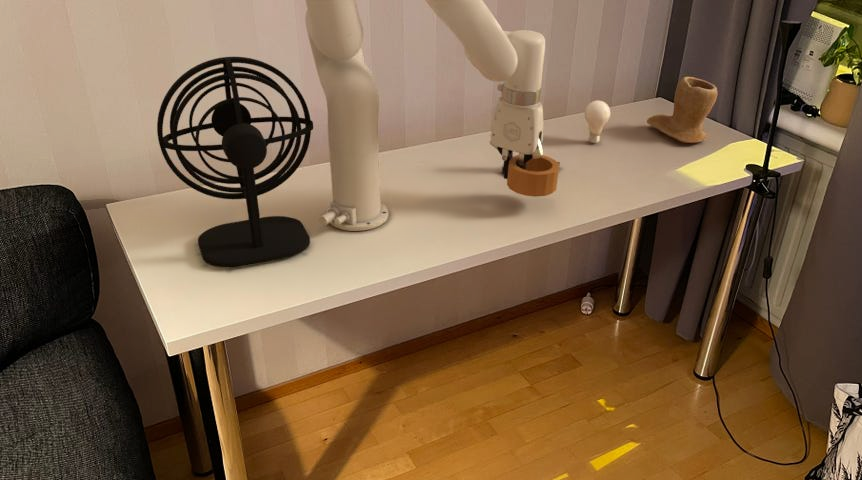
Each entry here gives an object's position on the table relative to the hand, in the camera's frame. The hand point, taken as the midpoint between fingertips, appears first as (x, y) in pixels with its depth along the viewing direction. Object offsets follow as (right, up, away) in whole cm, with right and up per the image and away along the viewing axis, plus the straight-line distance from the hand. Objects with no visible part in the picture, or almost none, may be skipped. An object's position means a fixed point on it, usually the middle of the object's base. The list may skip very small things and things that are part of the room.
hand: (513, 177), depth 167 cm
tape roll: (+4, -2, -1) cm, 4 cm away
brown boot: (+45, +15, +38) cm, 61 cm away
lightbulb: (+22, +12, +31) cm, 40 cm away
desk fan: (-50, -15, -17) cm, 55 cm away
